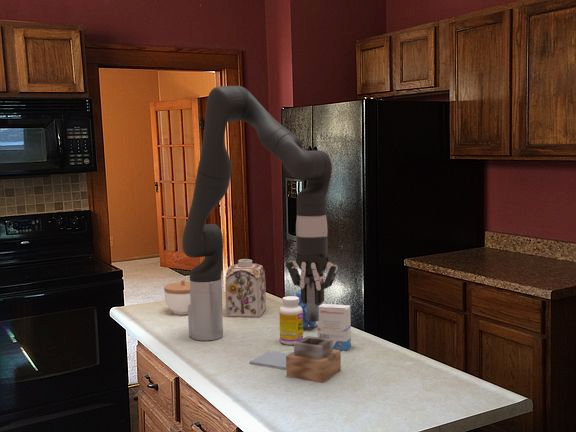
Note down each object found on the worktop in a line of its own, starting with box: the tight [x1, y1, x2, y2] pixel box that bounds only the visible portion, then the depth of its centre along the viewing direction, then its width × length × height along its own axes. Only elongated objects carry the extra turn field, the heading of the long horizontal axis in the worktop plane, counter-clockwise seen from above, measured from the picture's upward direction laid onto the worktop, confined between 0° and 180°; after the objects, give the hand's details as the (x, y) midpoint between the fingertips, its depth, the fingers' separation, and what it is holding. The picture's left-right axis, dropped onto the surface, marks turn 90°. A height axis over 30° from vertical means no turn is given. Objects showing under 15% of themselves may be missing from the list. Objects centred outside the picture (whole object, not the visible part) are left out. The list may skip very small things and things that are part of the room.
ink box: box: [317, 303, 352, 352], centre depth 183 cm, size 9×5×12 cm, turn 71°
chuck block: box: [285, 335, 342, 383], centre depth 163 cm, size 10×10×8 cm
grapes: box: [295, 290, 320, 330], centre depth 200 cm, size 12×7×12 cm, turn 118°
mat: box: [249, 350, 290, 371], centre depth 172 cm, size 12×10×1 cm
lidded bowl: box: [163, 279, 191, 316], centre depth 224 cm, size 13×13×11 cm
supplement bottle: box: [278, 295, 304, 346], centre depth 188 cm, size 7×7×13 cm
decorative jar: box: [224, 258, 267, 318], centre depth 221 cm, size 12×12×18 cm
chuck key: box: [304, 275, 319, 323], centre depth 161 cm, size 3×6×11 cm, turn 151°
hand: (312, 303), depth 161 cm, fingers closed on chuck key, 3 cm apart
